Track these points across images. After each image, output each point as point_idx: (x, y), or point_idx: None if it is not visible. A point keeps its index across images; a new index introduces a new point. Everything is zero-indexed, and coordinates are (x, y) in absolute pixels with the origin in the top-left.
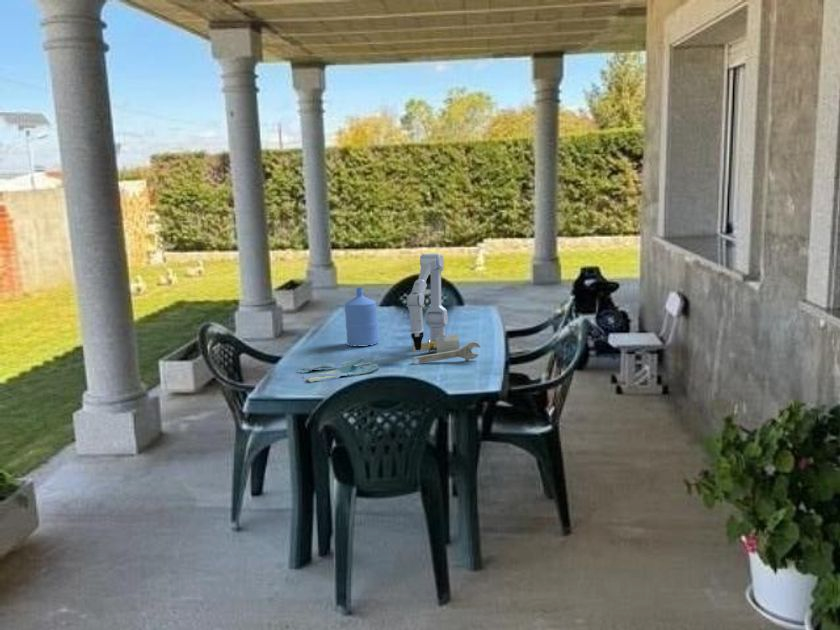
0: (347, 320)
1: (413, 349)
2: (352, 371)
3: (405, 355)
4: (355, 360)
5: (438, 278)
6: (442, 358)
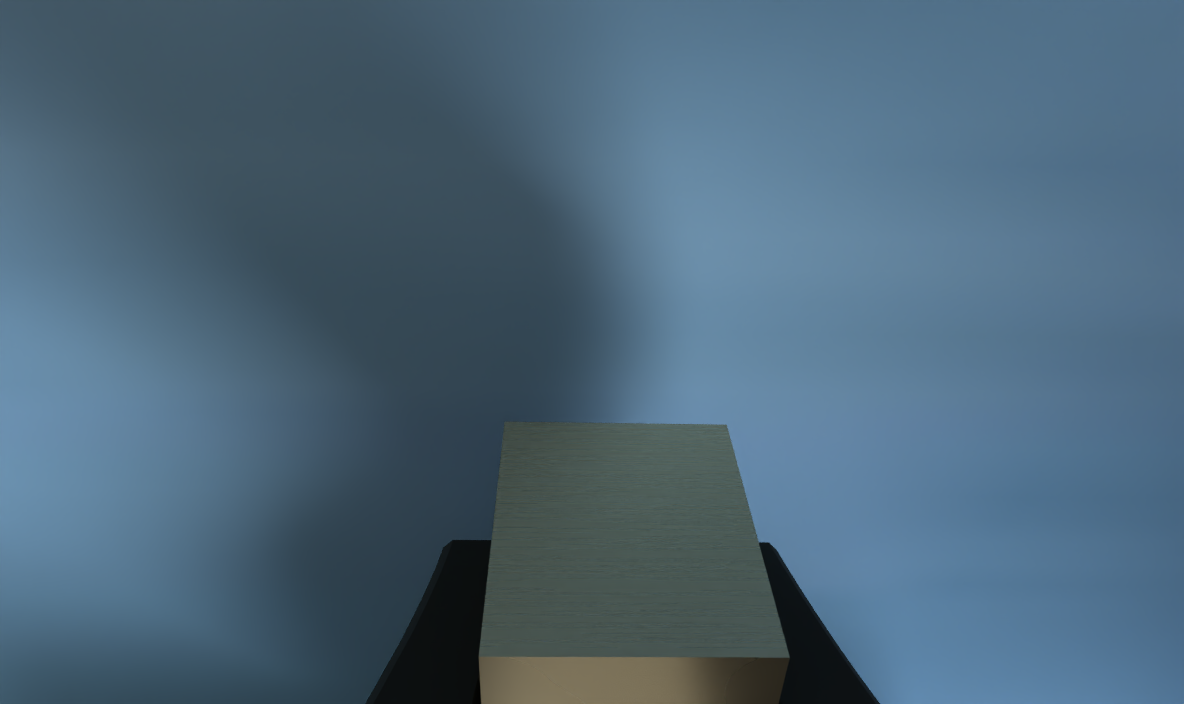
0: None
1: (501, 477)
2: None
3: (557, 33)
4: None
5: None
6: None
